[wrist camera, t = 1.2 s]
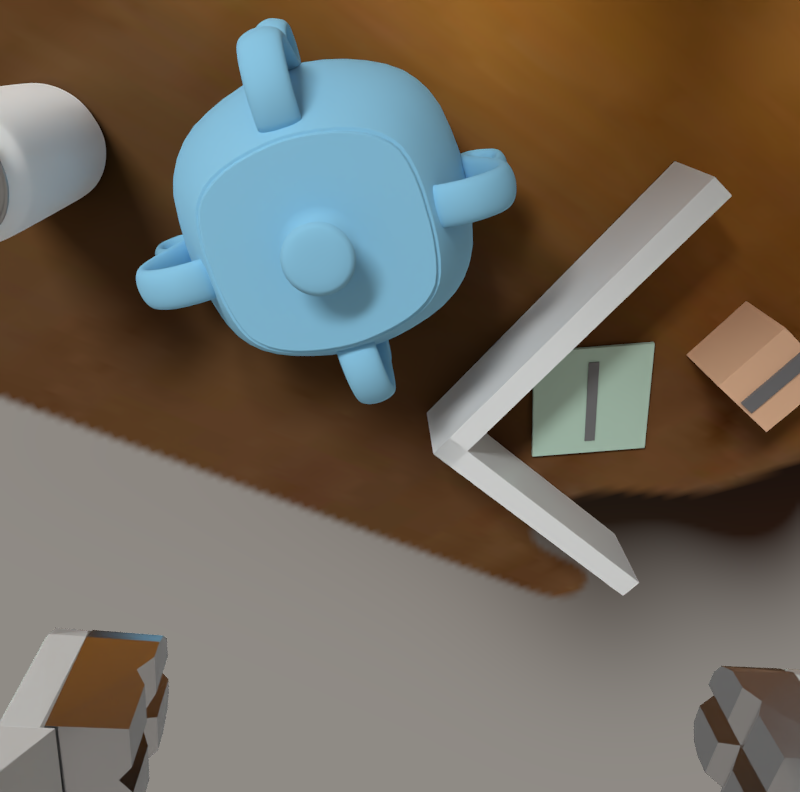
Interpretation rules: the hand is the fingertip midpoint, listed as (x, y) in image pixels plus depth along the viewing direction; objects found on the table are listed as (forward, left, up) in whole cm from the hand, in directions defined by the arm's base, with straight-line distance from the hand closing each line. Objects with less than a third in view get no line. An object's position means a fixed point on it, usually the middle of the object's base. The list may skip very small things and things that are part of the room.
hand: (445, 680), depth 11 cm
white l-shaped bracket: (-2, +21, -36) cm, 42 cm away
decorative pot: (+2, -2, -37) cm, 37 cm away
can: (+10, -16, -36) cm, 41 cm away
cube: (-8, +25, -36) cm, 45 cm away
